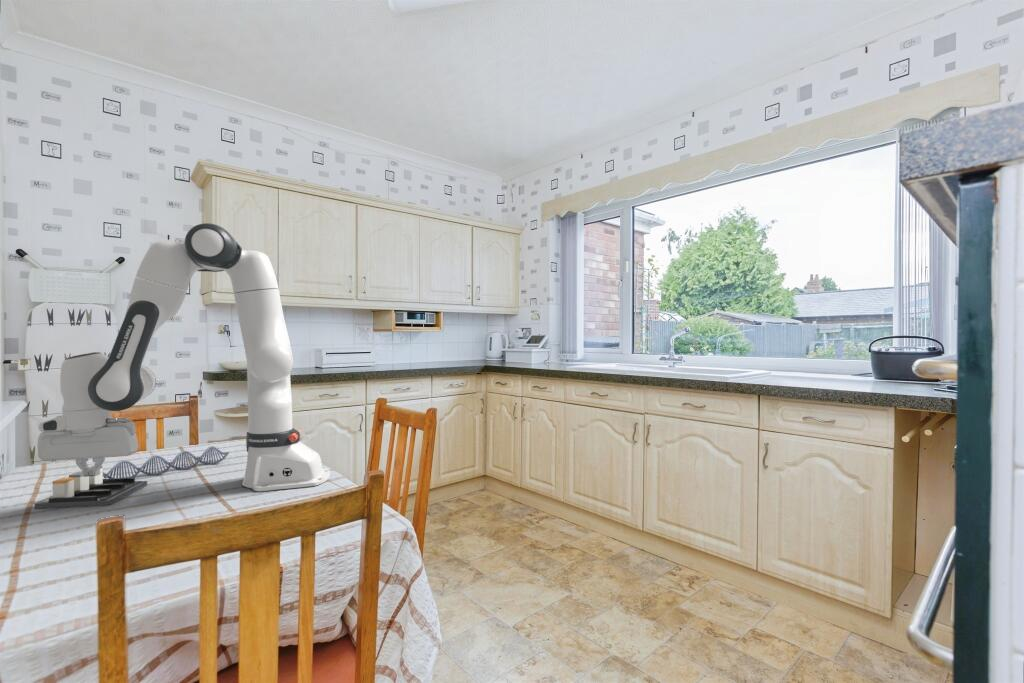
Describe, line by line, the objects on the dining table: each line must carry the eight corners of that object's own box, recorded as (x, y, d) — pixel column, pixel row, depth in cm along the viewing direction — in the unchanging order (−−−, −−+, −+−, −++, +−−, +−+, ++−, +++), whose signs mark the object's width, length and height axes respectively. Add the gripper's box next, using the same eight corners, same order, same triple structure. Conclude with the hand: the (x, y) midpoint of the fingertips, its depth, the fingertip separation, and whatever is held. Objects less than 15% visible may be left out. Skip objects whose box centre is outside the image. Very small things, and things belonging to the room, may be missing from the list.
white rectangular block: (89, 489, 124) (88, 471, 124) (80, 493, 121) (80, 474, 121) (78, 489, 124) (77, 471, 124) (69, 493, 121) (68, 475, 121)
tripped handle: (74, 495, 119) (73, 477, 119) (64, 500, 116) (64, 481, 116) (62, 496, 119) (62, 477, 119) (53, 500, 116) (52, 481, 116)
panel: (147, 485, 132) (147, 477, 132) (109, 505, 117) (109, 496, 117) (81, 487, 130) (81, 479, 130) (34, 508, 115) (34, 499, 115)
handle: (102, 483, 129) (102, 465, 129) (94, 486, 126) (94, 469, 126) (92, 483, 129) (91, 466, 129) (84, 487, 126) (83, 469, 126)
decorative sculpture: (230, 463, 154) (229, 444, 154) (104, 488, 130) (103, 466, 130) (223, 460, 158) (222, 442, 158) (99, 483, 134) (99, 462, 134)
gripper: (142, 414, 123) (145, 468, 123) (51, 419, 120) (56, 474, 121) (125, 419, 117) (129, 476, 117) (30, 424, 114) (34, 483, 114)
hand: (91, 475), depth 119 cm, fingers closed
